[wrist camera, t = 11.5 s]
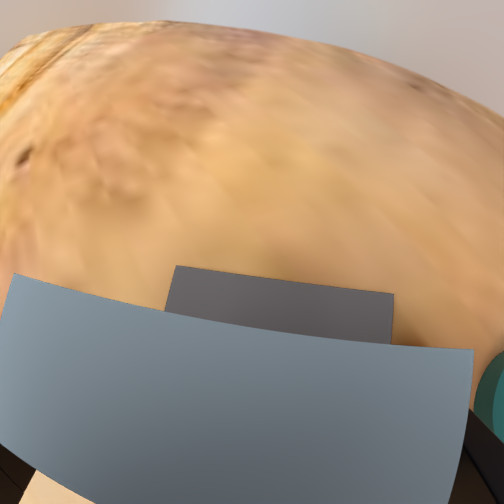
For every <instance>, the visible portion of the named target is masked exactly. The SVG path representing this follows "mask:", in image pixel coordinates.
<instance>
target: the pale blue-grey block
mask: <svg viewBox="0 0 504 504" xmlns="http://www.w3.org/2000/svg"><path fill="white" fill-rule="evenodd" d="M473 360H474V349H452V348H432V347H416V346H402V345H390V344H378V343H368V342H358V341H348V340H339V339H330V338H322V337H314V336H306V335H299V334H292V333H284V332H278V331H271V330H264V329H258V328H252V327H245V326H239V325H233V324H228V323H222V322H216V321H211V320H205V319H200V318H195V317H190V316H184V315H179V314H174V313H170V312H165V311H160V310H155V309H151V308H146V307H141V306H137V305H133V304H128V303H124V302H120V301H115V300H111V299H107V298H103V297H99V296H95V295H91V294H87V293H83V292H79V291H75V290H72V289H68V288H64V287H61V286H57V285H53V284H50V283H46V282H43V281H39V280H36V279H32V278H29V277H26V276H22V275H19V274H16V273H14V275H13V278H12V281H11V284H10V287H9V291H8V294H7V298H6V301H5V305H4V308H3V312H2V316H1V320H0V444H2V445H3V446H4V447H6V448H7V449H8V450H10V451H11V452H12V453H14V454H15V455H16V456H18V457H19V458H20V459H22V460H23V461H25V462H26V463H28V464H29V465H31V466H32V467H34V468H35V469H37V470H38V471H40V472H41V473H43V474H44V475H46V476H47V477H49V478H51V479H52V480H54V481H56V482H57V483H59V484H61V485H62V486H64V487H66V488H68V489H69V490H71V491H73V492H75V493H77V494H78V495H80V496H82V497H84V498H86V499H88V500H90V501H92V502H94V503H96V504H448V501H449V498H450V494H451V491H452V487H453V484H454V480H455V476H456V472H457V468H458V464H459V460H460V455H461V450H462V445H463V440H464V435H465V429H466V423H467V417H468V410H469V403H470V394H471V385H472V374H473Z"/></svg>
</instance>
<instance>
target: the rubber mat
mask: <svg viewBox="0 0 504 504" xmlns="http://www.w3.org/2000/svg"><path fill="white" fill-rule="evenodd" d="M393 303H394V294H390V293H382V292H373V291H364V290H356V289H348V288H339V287H331V286H323V285H315V284H307V283H299V282H292V281H284V280H277V279H269V278H262V277H254V276H247V275H240V274H233V273H226V272H219V271H212V270H205V269H198V268H191V267H184V266H178V265H176V268H175V271H174V275H173V279H172V283H171V287H170V291H169V295H168V299H167V303H166V307H165V312H170V313H174V314H179V315H184V316H190V317H195V318H200V319H205V320H211V321H216V322H222V323H228V324H233V325H239V326H245V327H252V328H258V329H264V330H271V331H278V332H284V333H292V334H299V335H306V336H314V337H322V338H330V339H339V340H348V341H358V342H368V343H378V344H390V345H391V334H392V320H393Z"/></svg>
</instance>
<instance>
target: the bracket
mask: <svg viewBox="0 0 504 504" xmlns="http://www.w3.org/2000/svg"><path fill="white" fill-rule="evenodd" d="M474 413H475V414H476V415H477V416H478V417H479V418H480V419H481V420H482V422H483V423H484V424H485V425H486V426H487V427H488V428H489V429H490V430H491V431H492V432H493V433H494V434H495V435H496V436H497V437H498V438H499V439H500V440H501V441H502V442H503V443H504V351H503V352H501V353H500V354H499V355H497V356H496V357H495V358H494V359H493V360H492V362H491V363H490V364H489V365H488V367H487V368H486V370H485V372H484V374H483V376H482V378H481V380H480V382H479V385H478V388H477V392H476V396H475V401H474Z"/></svg>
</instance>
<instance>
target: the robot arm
mask: <svg viewBox="0 0 504 504" xmlns="http://www.w3.org/2000/svg"><path fill="white" fill-rule="evenodd" d="M35 471H36V469H35V468H34V467H32V466H31V465H29V464H28V463H26V462H25V461H23V460H22V459H20V458H19V457H18V456H16V455H15V454H14V453H12V452H11V451H10V450H8V449H7V448H6V447H4V446H3V445H2V444H0V504H19V502H20V500H21V498H22V496H23V494H24V492H25V490H26V488H27V486H28V484H29V482H30V480H31V479H32V477H33V475H34V473H35ZM448 504H504V443H503V442H502V441H501V440H500V439H499V438H498V437H497V436H496V435H495V434H494V433H493V432H492V431H491V430H490V429H489V428H488V427H487V426H486V425H485V424H484V423H483V422H482V420H481V419H480V418H479V417H478V416H477V415H476V414H475V413H474V412H473V411H472V410H471V409H470V408H469V410H468V417H467V423H466V429H465V435H464V440H463V445H462V450H461V455H460V460H459V464H458V468H457V472H456V476H455V480H454V484H453V487H452V491H451V494H450V498H449V501H448Z"/></svg>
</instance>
